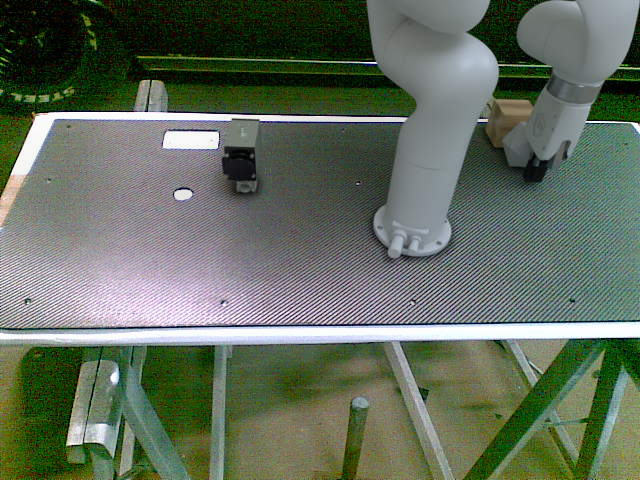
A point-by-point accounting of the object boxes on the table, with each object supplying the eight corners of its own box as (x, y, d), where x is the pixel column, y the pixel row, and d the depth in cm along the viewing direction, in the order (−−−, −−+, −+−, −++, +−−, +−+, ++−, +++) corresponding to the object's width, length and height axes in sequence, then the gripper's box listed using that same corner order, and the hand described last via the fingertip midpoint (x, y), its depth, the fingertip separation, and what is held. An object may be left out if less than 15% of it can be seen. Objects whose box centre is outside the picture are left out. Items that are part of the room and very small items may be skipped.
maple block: (528, 148, 96) (540, 116, 91) (494, 147, 95) (504, 115, 91) (517, 130, 101) (528, 99, 96) (484, 130, 100) (494, 99, 96)
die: (533, 186, 89) (575, 144, 85) (498, 160, 87) (540, 114, 83) (518, 171, 96) (556, 131, 92) (486, 146, 94) (523, 104, 90)
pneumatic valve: (263, 166, 88) (260, 108, 80) (257, 208, 80) (252, 148, 71) (233, 165, 88) (227, 107, 80) (224, 207, 80) (216, 147, 71)
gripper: (534, 63, 79) (500, 155, 92) (566, 110, 68) (523, 206, 81) (578, 65, 79) (538, 156, 92) (617, 112, 69) (566, 207, 82)
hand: (531, 179), depth 87 cm, fingers closed
